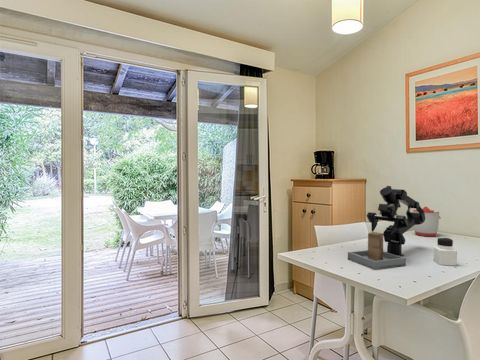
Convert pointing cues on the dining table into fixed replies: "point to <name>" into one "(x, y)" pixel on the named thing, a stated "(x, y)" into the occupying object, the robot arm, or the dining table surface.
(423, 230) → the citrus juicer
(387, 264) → the tray
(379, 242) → the walnut block
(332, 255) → the dining table surface
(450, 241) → the medicine bottle
